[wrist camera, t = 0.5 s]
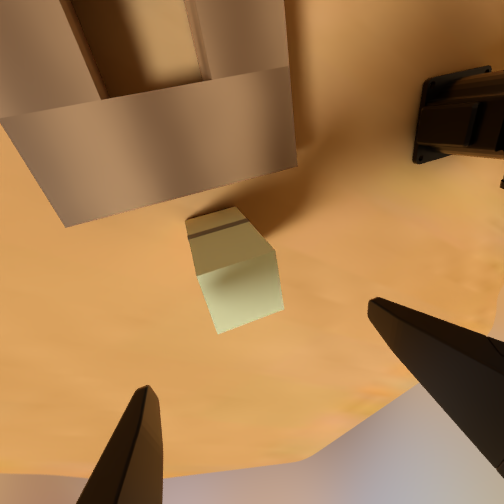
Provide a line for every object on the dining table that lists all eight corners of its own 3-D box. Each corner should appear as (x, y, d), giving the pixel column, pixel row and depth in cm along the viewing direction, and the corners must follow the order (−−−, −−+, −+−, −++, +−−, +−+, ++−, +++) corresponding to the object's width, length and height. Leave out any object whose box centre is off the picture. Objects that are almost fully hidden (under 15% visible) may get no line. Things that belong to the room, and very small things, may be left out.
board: (233, -229, 10) (255, -345, 8) (279, 160, 18) (297, 166, 16) (-180, -252, 8) (-345, -432, 5) (81, 211, 16) (65, 227, 13)
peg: (235, 205, 19) (275, 249, 12) (245, 250, 21) (284, 309, 14) (184, 220, 18) (195, 275, 11) (199, 265, 20) (217, 335, 13)
